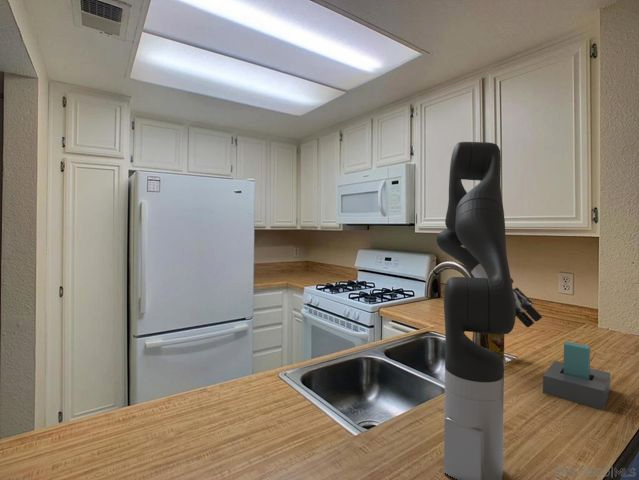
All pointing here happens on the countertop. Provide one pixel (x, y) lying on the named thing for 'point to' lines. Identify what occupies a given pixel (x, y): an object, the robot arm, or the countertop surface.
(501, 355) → the condiment
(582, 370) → the teal rectangular block
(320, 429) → the countertop surface
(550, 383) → the gray slotted block
